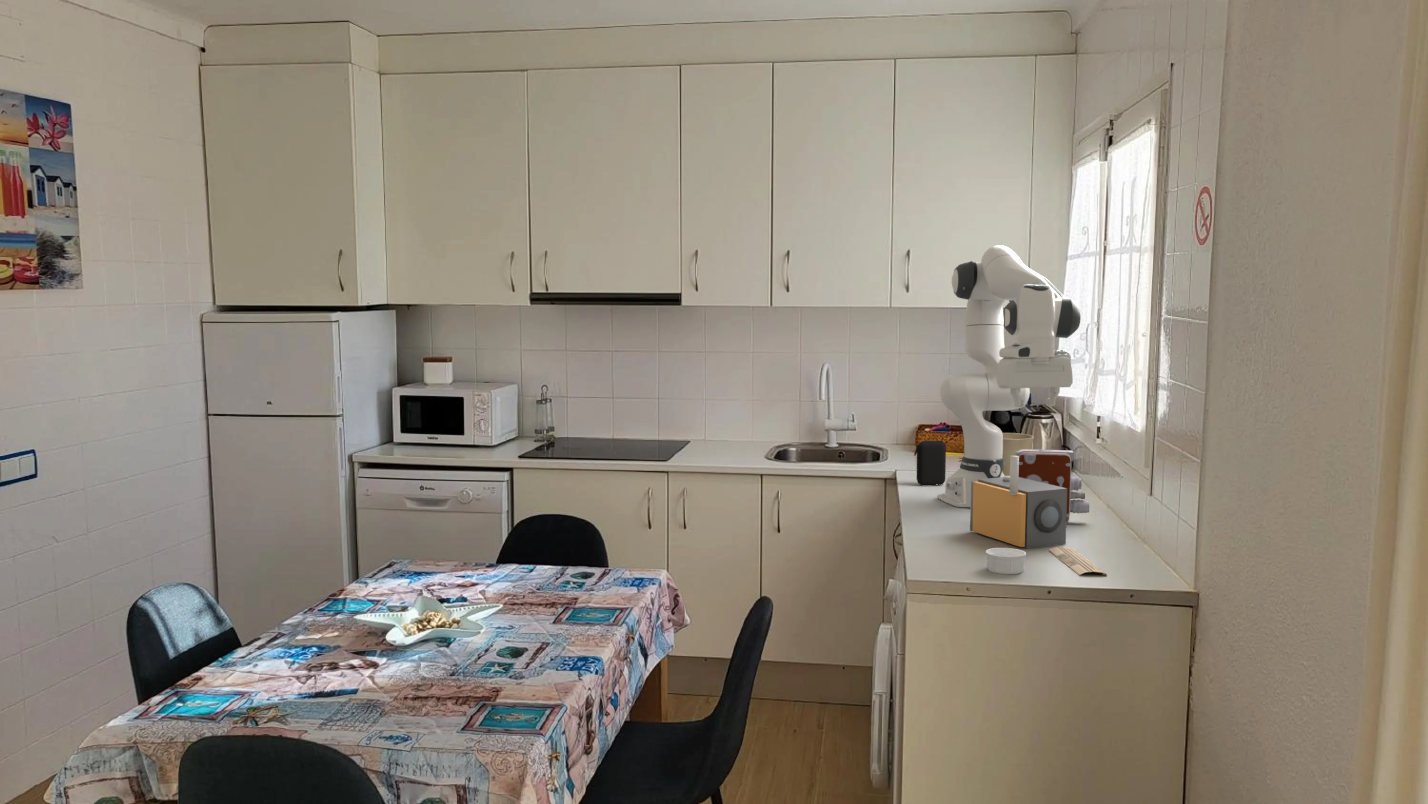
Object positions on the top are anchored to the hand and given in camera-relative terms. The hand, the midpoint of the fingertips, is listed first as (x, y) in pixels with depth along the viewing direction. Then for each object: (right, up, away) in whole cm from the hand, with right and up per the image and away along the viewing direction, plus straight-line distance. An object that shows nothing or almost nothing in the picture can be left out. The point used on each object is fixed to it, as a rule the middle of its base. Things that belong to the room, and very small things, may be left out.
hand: (1034, 406), depth 263 cm
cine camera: (+13, -32, +30) cm, 46 cm away
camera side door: (-8, -33, +9) cm, 35 cm away
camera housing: (0, -34, +11) cm, 36 cm away
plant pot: (+18, -26, +90) cm, 96 cm away
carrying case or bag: (-8, -26, +87) cm, 92 cm away
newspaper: (+5, -37, -14) cm, 40 cm away
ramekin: (-13, -37, -21) cm, 45 cm away
